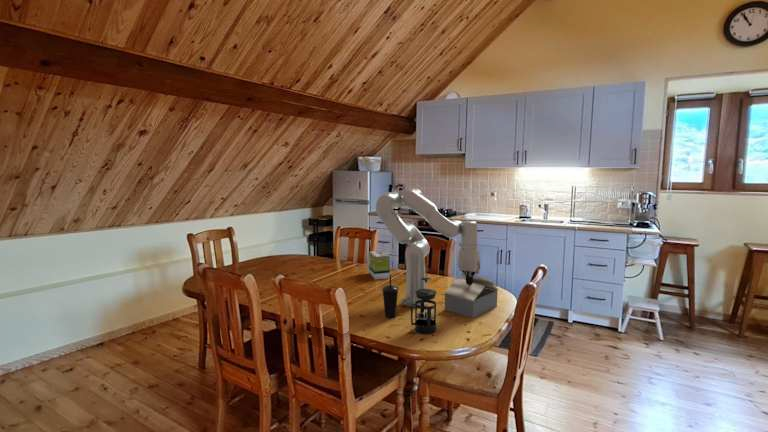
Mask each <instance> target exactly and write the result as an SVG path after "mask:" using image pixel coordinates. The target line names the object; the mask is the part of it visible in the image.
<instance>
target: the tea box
mask: <svg viewBox="0 0 768 432" xmlns="http://www.w3.org/2000/svg"><path fill="white" fill-rule="evenodd" d="M390 258H391V257H390V254H388V253H386V252H385V251H384V250H374V251H368V274H369V275H370V276H371V277H372V278H373V279H374V280H387V279H390V275H391V269H390V268H391V267H390V265H391V264H390V263H391V262H390V261H391V259H390Z"/></svg>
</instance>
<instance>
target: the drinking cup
mask: <svg viewBox="0 0 768 432" xmlns="http://www.w3.org/2000/svg"><path fill="white" fill-rule="evenodd" d="M381 289H382V296H383V298H382V299H383V307H384V317H385V318H386V319H395V318H396V317H397V316H396V314H397V304H398V303H397V302H398V292H399V289H400V288H399V287H398V286H396V285H393V284H392V274H390V278H389V284H388V285H385V286H382V287H381Z"/></svg>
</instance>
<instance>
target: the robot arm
mask: <svg viewBox="0 0 768 432" xmlns="http://www.w3.org/2000/svg"><path fill="white" fill-rule="evenodd" d="M399 207H400V208H401V207H408V208H409V209H410V210H412V211H413V212H415V213H416V214H418V215H419V216H420V217H422V218H423V219H424V220H425V221H426V222H427V223H428V224H429V225H430V226H431V227H432V228H433V229H434V230H435V231H437V232H438V233H439V234H441V235H443V236H445V237H446V238H449V239H451V238H452V239H453V238H455V237H457V236H458V235H460V243H458V244H459V245H458V246H460V248H459V251H458V255H457V268H458V270H459V271H460V272H461V273H464V274H465V276H466V279H465V281H466V284H467V285H471V284H472V283H473V276H476V275H479V274H480V269H481V259H480V258H481V257H480V252H479V249H478V223H477V221H475V220H459V219H451V220H450V219H448V218H447V217H445V216H444V215H443V214H441V213H440V212H439V210H438V208H437V205H436V204H435V203H433V202H432V201H431V200H429V199H428V198H426V197H425V196H424V195H423V192H422V191H421V189H418V188H416V187H413V188H408V189H402V190H395V191H390V192H389V191H388V192H385V193H383V194H380V196H379V197H378V198H377V200H376V204H375V211H376V213H377V216H378V218H379V219H380V221H381V222H382V223H383V225H384V226H385V227H386V228H387V230H388V231H389V233H390V234H391V235H392V236H393V238H394V239H395V240H396V242H397V243H398V244H401V245H404V244H407V247H406V248H405V254H404V255H405V256H404V257H405V266H406V268H405V269H406V270H405V271H406V277H405V280H406V281H405V282H406V284H405V289H406V291H405V295H404V298H402V299H400V300H399V302H400V303H401V304H404V305H405V306H406V307H410V308H411V304H415V302H416V301H418V300H422V299H418V298H417V297H416V293H415V291H416V290H418V289H426V283H425V280H422V279H421V278H423V277H426V263H425V258H426V257H427V255H429V253H430V249H431V247H430V243H429V242H428V240H427V239H426V238H425V237H424V235H423V234H422V233H421V231H420V230H419V229H418V228H417V227H416V226H415V225H414V224H413V223H410V222H406V223H405V222H404V220H403V219H402V218H401V217H400V215H398V213H396V212H395V211H394V209H395V208H399ZM428 304H429V303H426V306H428ZM417 305H419V306H420V303H418V304H417ZM424 306H425V302H424ZM413 308H415V306H413Z"/></svg>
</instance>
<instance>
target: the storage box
mask: <svg viewBox="0 0 768 432" xmlns="http://www.w3.org/2000/svg"><path fill="white" fill-rule="evenodd" d="M496 307H498V291H497V290H493V289H488V288H484V289H483V290H482V291H481V293H480V294H479V295H478V297H477V298H476V299H475V300H474V301H470V300H466V299H463V298H459V297H455V296H452V295H448V294H445V293H444V310H446V311H448V312H451V313H454V314H458V315H462V316H465V317H467V318H471V319H475V318H476V317H478V316H480V315H482V313H483V314H484V312H485V313H487V312H489V311H491V310H493V309H495V308H496ZM486 311H487V312H486Z"/></svg>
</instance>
